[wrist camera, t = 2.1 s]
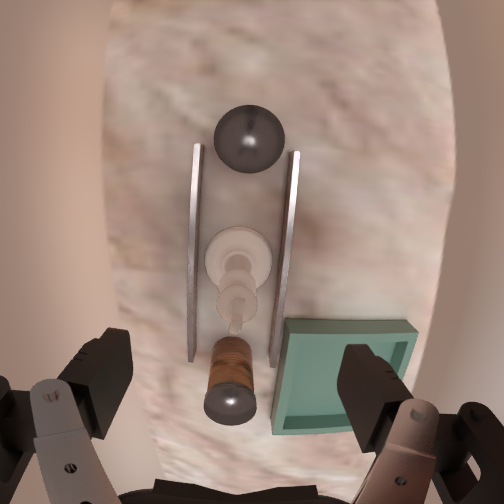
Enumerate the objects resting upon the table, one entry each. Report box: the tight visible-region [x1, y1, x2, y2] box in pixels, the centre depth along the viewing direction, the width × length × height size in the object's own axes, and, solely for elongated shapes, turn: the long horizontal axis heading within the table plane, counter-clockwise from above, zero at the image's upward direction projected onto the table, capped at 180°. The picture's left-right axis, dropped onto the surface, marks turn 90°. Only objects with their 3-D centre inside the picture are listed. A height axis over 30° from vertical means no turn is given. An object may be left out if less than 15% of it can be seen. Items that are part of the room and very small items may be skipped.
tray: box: [270, 319, 419, 435], centre depth 25 cm, size 11×11×2 cm
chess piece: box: [205, 227, 272, 335], centre depth 18 cm, size 5×5×10 cm
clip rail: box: [187, 105, 300, 426], centre depth 20 cm, size 19×7×7 cm, turn 175°
